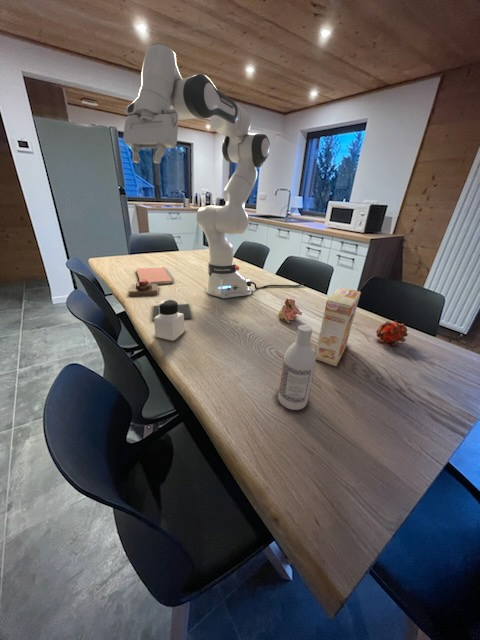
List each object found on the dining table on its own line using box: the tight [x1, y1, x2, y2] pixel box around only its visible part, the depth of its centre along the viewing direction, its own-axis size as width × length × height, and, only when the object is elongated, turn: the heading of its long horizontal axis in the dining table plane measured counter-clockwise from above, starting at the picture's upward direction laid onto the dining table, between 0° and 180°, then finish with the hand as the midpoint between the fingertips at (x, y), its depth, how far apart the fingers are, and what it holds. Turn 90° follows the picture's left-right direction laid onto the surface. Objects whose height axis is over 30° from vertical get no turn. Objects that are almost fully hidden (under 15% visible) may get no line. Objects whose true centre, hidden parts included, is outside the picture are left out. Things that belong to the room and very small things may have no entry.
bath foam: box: [277, 324, 316, 411], centre depth 60 cm, size 7×7×20 cm
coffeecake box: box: [314, 287, 362, 367], centre depth 81 cm, size 15×7×20 cm, turn 148°
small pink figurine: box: [277, 297, 303, 324], centre depth 105 cm, size 9×10×10 cm
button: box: [138, 279, 148, 285], centre depth 123 cm, size 4×4×2 cm
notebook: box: [136, 266, 175, 285], centre depth 146 cm, size 27×17×2 cm, turn 24°
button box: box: [128, 281, 159, 297], centre depth 125 cm, size 12×10×4 cm
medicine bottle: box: [153, 299, 185, 342], centre depth 88 cm, size 7×7×12 cm
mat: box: [152, 303, 192, 322], centre depth 106 cm, size 14×14×1 cm
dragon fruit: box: [375, 320, 408, 346], centre depth 92 cm, size 8×8×12 cm
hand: (145, 162), depth 80 cm, fingers open, 8 cm apart
